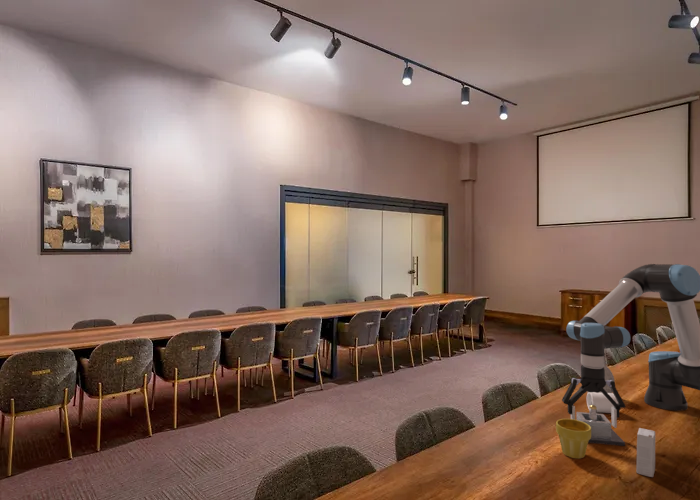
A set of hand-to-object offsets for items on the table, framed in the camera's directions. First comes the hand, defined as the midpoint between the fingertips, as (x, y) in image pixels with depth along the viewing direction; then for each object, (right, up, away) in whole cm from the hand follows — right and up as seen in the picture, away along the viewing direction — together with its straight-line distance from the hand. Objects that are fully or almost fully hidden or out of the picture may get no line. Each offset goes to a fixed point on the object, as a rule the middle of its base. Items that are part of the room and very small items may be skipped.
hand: (593, 424), depth 152 cm
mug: (+18, -5, +26) cm, 32 cm away
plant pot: (-14, -4, -13) cm, 20 cm away
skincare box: (+2, -4, -25) cm, 25 cm away
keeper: (0, -4, 0) cm, 4 cm away
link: (0, -3, 0) cm, 3 cm away
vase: (+27, -5, +42) cm, 50 cm away
